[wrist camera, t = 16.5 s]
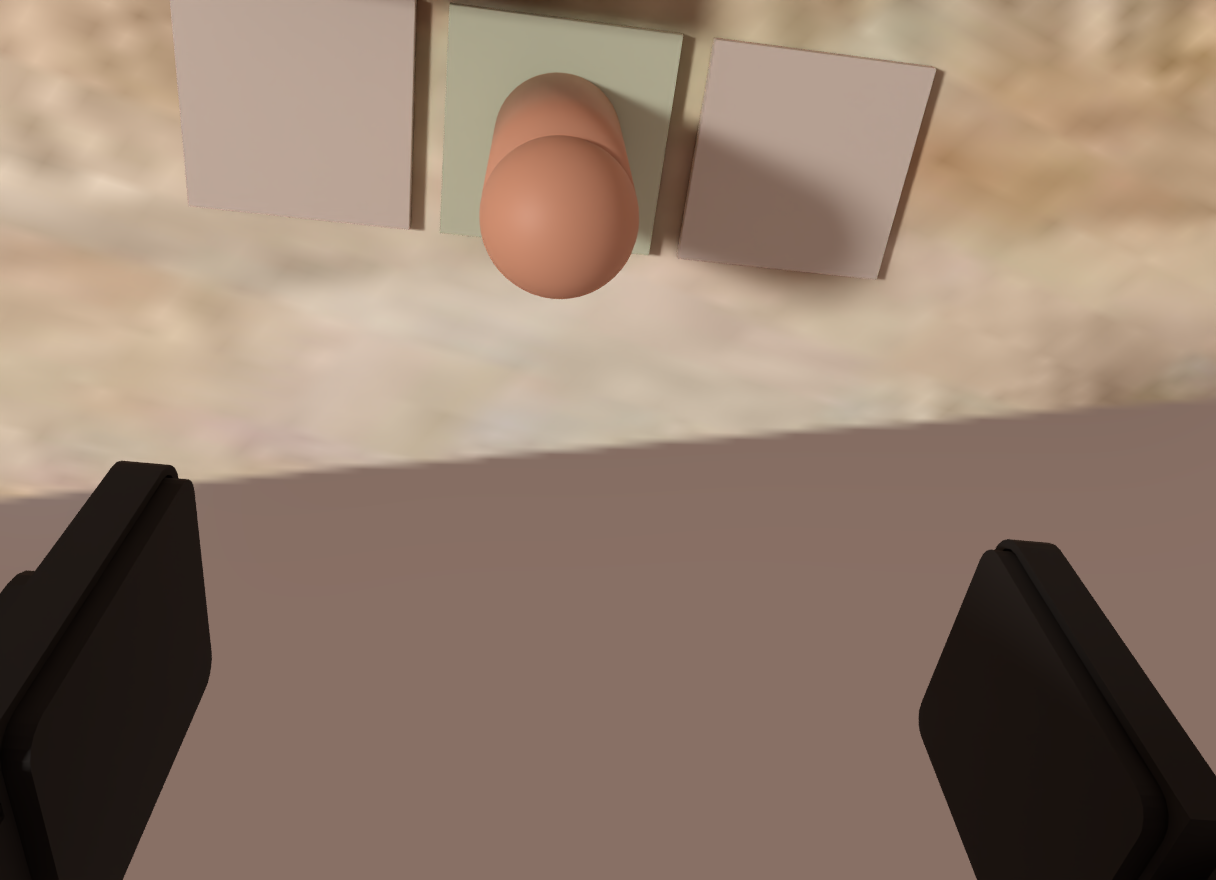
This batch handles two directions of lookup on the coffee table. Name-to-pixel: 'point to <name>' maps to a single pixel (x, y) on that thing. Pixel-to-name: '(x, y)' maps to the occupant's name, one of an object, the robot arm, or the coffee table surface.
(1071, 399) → the coffee table surface
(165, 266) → the coffee table surface
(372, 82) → the tile strip
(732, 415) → the coffee table surface
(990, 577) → the robot arm
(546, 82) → the brown rounded cylinder piece
